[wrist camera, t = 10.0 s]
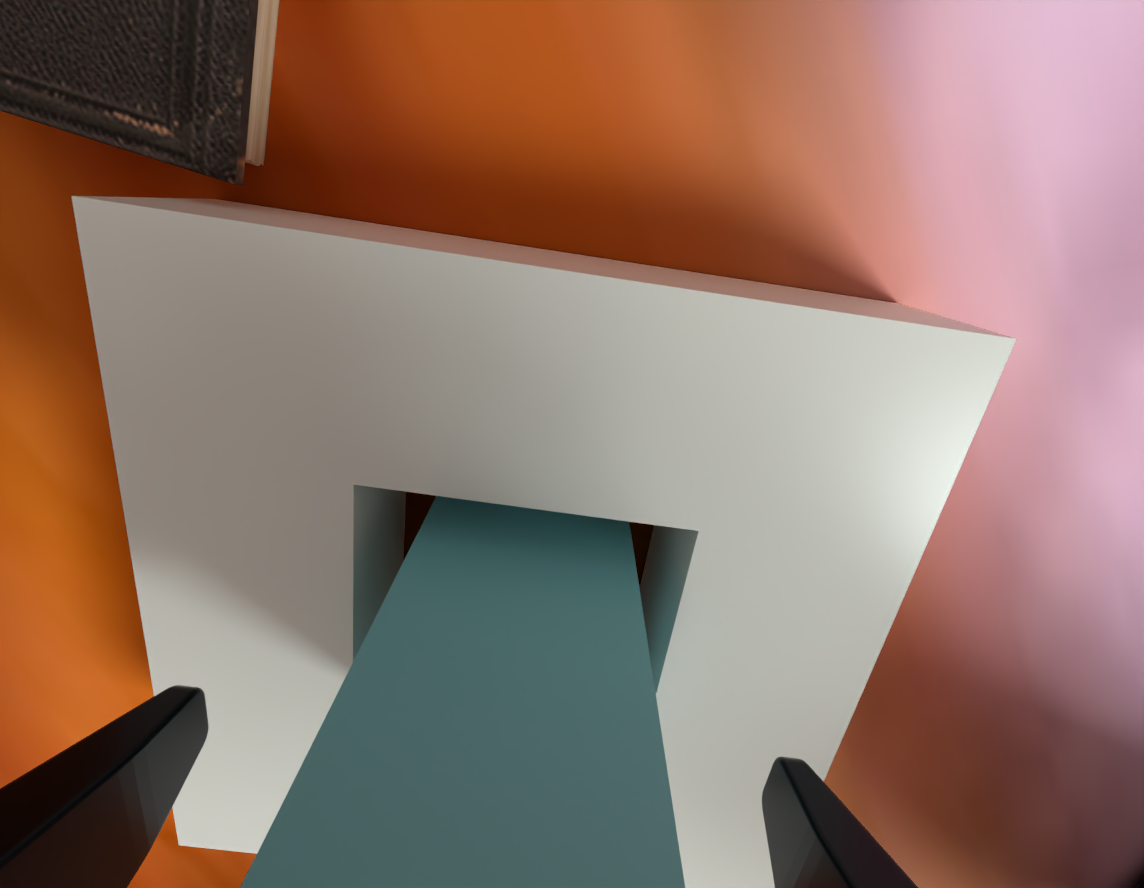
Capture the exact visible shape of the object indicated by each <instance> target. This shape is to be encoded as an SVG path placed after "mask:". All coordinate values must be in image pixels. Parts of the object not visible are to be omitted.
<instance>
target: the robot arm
mask: <svg viewBox="0 0 1144 888" xmlns="http://www.w3.org/2000/svg"><path fill="white" fill-rule="evenodd" d="M208 728H209V724H208V716H207V708H206V700H205V694H204V691H203V690H202V689H201V688H199V687H191V686H183V685H175V686H172V687H169V688H167V689H166V690H164V691H162V692H161V693H159V694H157V695H156V696H154V697H152V698H151V699H149V700H147V701H146V702H144V703H142V704H141V705H139V706H137V707H136V708H134V709H132V710H131V711H129V712H127V713H126V714H124V715H122V716H121V717H119V718H117V719H116V720H114V721H112V722H111V723H109V724H107V725H106V726H104V727H102V728H101V729H99V730H97V731H96V732H94V733H92V734H91V735H89V736H87V737H86V738H84V739H82V740H81V741H79V742H77V743H76V744H74V745H72V746H71V747H69V748H67V749H66V750H64V751H62V752H61V753H59V754H57V755H56V756H54V757H52V758H51V759H49V760H47V761H46V762H44V763H42V764H41V765H39V766H37V767H36V768H34V769H32V770H31V771H29V772H27V773H26V774H24V775H22V776H21V777H19V778H17V779H16V780H14V781H12V782H11V783H9V784H7V785H6V786H4V787H2V788H1V789H0V888H127V887H128V885H129V883H130V882H131V880H132V879H133V877H134V875H135V874H136V872H137V871H138V869H139V867H140V866H141V864H142V862H143V861H144V859H145V857H146V856H147V854H148V852H149V851H150V849H151V847H152V845H153V843H154V841H155V840H156V838H157V836H158V834H159V832H160V830H161V828H162V826H163V824H164V822H165V820H166V818H167V816H168V814H169V812H170V810H171V808H172V806H173V804H174V803H175V801H176V799H177V797H178V795H179V793H180V791H181V789H182V787H183V785H184V783H185V781H186V779H187V777H188V775H189V773H190V771H191V769H192V767H193V765H194V763H195V761H196V759H197V757H198V755H199V753H200V751H201V749H202V747H203V745H204V743H205V741H206V738H207V734H208ZM762 810H763V816H764V823H765V829H766V835H767V841H768V848H769V854H770V860H771V866H772V873H773V879H774V885H775V888H918V887H917V886H916V885H915V884H914V882H913V881H912V880H911V879H910V878H909V877H908V876H907V875H906V873H905V872H904V871H903V870H902V869H901V868H900V867H899V866H898V864H897V863H896V862H895V861H894V860H893V859H892V858H891V857H890V856H889V854H888V853H887V852H886V851H885V850H884V849H883V848H882V847H881V845H880V844H879V843H878V842H877V841H876V840H875V839H874V838H873V836H872V835H871V834H870V833H869V832H868V831H867V830H866V829H865V828H864V826H863V825H862V824H861V823H860V822H859V821H858V820H857V819H856V817H855V816H854V815H853V814H852V813H851V812H850V811H849V810H848V809H847V807H846V806H845V805H844V804H843V803H842V802H841V801H840V800H839V798H838V797H837V796H836V795H835V794H834V793H833V792H832V791H831V789H830V788H829V787H828V786H827V785H826V784H825V783H824V782H823V781H822V779H821V778H820V777H819V776H818V775H817V774H816V773H815V772H814V770H813V769H812V768H811V767H810V766H809V765H808V764H807V763H806V762H805V761H803V760H802V759H798V758H790V757H782V756H781V757H778V758H776V759H775V761H774V763H773V765H772V768H771V770H770V773H769V776H768V778H767V781H766V784H765V786H764V789H763V792H762ZM1137 888H1144V879H1143V880H1142V881H1141V883H1140V884H1139V885H1138V886H1137Z"/></svg>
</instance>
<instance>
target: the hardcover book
mask: <svg viewBox="0 0 1144 888" xmlns="http://www.w3.org/2000/svg"><path fill="white" fill-rule="evenodd" d="M278 9H279V0H0V111H3V112H7V113H10V114H13V115H16V116H19V117H22V118H26V119H29V120H32V121H35V122H38V123H41V124H45V125H48V126H51V127H54V128H57V129H60V130H64V131H67V132H70V133H73V134H76V135H80V136H83V137H86V138H89V139H92V140H95V141H99V142H102V143H105V144H108V145H111V146H114V147H118V148H121V149H124V150H127V151H130V152H134V153H137V154H140V155H143V156H146V157H149V158H153V159H156V160H159V161H162V162H165V163H168V164H172V165H175V166H178V167H181V168H184V169H188V170H191V171H194V172H197V173H200V174H203V175H207V176H210V177H213V178H216V179H219V180H222V181H226V182H229V183H232V184H235V185H243V183H244V171H245V163H249V164H252V165H255V166H260V165H261V166H264V157H265V147H266V136H267V126H268V115H269V104H270V94H271V83H272V73H273V62H274V51H275V41H276V30H277V19H278Z"/></svg>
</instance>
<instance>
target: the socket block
mask: <svg viewBox="0 0 1144 888" xmlns="http://www.w3.org/2000/svg"><path fill="white" fill-rule="evenodd" d="M71 197H72V203H73V209H74V215H75V221H76V227H77V233H78V239H79V245H80V251H81V257H82V263H83V269H84V275H85V282H86V288H87V294H88V300H89V306H90V312H91V318H92V324H93V330H94V336H95V342H96V348H97V354H98V360H99V366H100V372H101V378H102V384H103V390H104V396H105V402H106V408H107V414H108V420H109V426H110V433H111V439H112V445H113V451H114V457H115V463H116V469H117V475H118V481H119V487H120V493H121V499H122V505H123V511H124V517H125V523H126V529H127V535H128V541H129V547H130V553H131V559H132V565H133V571H134V577H135V584H136V590H137V596H138V602H139V608H140V614H141V620H142V626H143V632H144V638H145V644H146V650H147V656H148V662H149V668H150V674H151V680H152V686H153V692H154V696H156V695H157V694H159V693H161V692H162V691H164V690H166V689H167V688H169V687H172V686H175V685H183V686H191V687H199V688H201V689H202V690H203V691H204V694H205V700H206V708H207V716H208V724H209V728H208V734H207V738H206V741H205V743H204V745H203V747H202V749H201V751H200V753H199V755H198V757H197V759H196V761H195V763H194V765H193V767H192V769H191V771H190V773H189V775H188V777H187V779H186V781H185V783H184V785H183V787H182V789H181V791H180V793H179V795H178V797H177V799H176V801H175V803H174V804H173V806H172V807H173V813H174V819H175V825H176V831H177V837H178V843H179V845H181V846H191V847H200V848H209V849H218V850H228V851H237V852H246V853H255V854H257V853H258V851H259V849H260V847H261V845H262V843H263V841H264V839H265V837H266V835H267V833H268V831H269V829H270V827H271V825H272V823H273V821H274V819H275V817H276V815H277V813H278V811H279V809H280V807H281V805H282V803H283V801H284V799H285V797H286V795H287V793H288V791H289V789H290V787H291V785H292V783H293V781H294V779H295V777H296V775H297V773H298V771H299V769H300V767H301V765H302V763H303V761H304V759H305V757H306V755H307V753H308V751H309V749H310V747H311V745H312V743H313V741H314V739H315V737H316V735H317V733H318V731H319V729H320V727H321V725H322V723H323V721H324V719H325V717H326V715H327V713H328V711H329V709H330V707H331V705H332V703H333V701H334V699H335V697H336V695H337V693H338V691H339V689H340V687H341V685H342V683H343V681H344V679H345V677H346V675H347V673H348V671H349V669H350V667H351V665H352V663H353V661H354V659H355V657H356V655H357V653H358V651H359V649H360V647H361V645H362V643H363V641H364V639H365V637H366V635H367V633H368V631H369V629H370V627H371V625H372V623H373V621H374V619H375V617H376V615H377V613H378V611H379V609H380V607H381V605H382V603H383V601H384V599H385V597H386V595H387V593H388V591H389V589H390V587H391V585H392V583H393V581H394V579H395V577H396V575H397V573H398V571H399V569H400V567H401V565H402V563H403V558H404V534H405V510H406V492H413V493H420V494H428V495H435V496H442V497H450V498H457V499H465V500H472V501H480V502H487V503H494V504H502V505H509V506H517V507H524V508H532V509H539V510H546V511H554V512H561V513H569V514H576V515H584V516H591V517H599V518H606V519H613V520H621V521H628V522H636V523H643V524H651V525H654V527H653V532H652V536H651V540H650V545H649V549H648V554H647V558H646V562H645V567H644V571H643V576H642V580H641V585H640V595H641V601H642V608H643V614H644V621H645V628H646V634H647V641H648V647H649V654H650V660H651V667H652V673H653V680H654V687H655V693H656V700H657V706H658V713H659V719H660V726H661V732H662V739H663V745H664V752H665V759H666V765H667V772H668V778H669V785H670V791H671V798H672V804H673V811H674V817H675V824H676V831H677V837H678V844H679V850H680V857H681V863H682V870H683V876H684V883H685V888H775V885H774V879H773V873H772V866H771V860H770V854H769V848H768V841H767V835H766V829H765V823H764V816H763V810H762V792H763V789H764V786H765V784H766V781H767V778H768V776H769V773H770V770H771V768H772V765H773V763H774V761H775V759H776V758H778V757H781V756H782V757H790V758H798V759H802V760H803V761H805V762H806V763H807V764H808V765H809V766H810V767H811V768H812V769H813V770H814V772H815V773H816V774H817V775H818V776H819V777H820V778H821V779H822V781H823V782H824V780H825V777H826V775H827V773H828V771H829V768H830V766H831V764H832V761H833V759H834V757H835V754H836V752H837V750H838V748H839V745H840V743H841V741H842V738H843V736H844V734H845V731H846V729H847V727H848V725H849V722H850V720H851V718H852V715H853V713H854V711H855V708H856V706H857V704H858V702H859V699H860V697H861V695H862V692H863V690H864V688H865V686H866V683H867V681H868V679H869V676H870V674H871V672H872V669H873V667H874V665H875V663H876V660H877V658H878V656H879V653H880V651H881V649H882V646H883V644H884V642H885V640H886V637H887V635H888V633H889V630H890V628H891V626H892V623H893V621H894V619H895V617H896V614H897V612H898V610H899V607H900V605H901V603H902V601H903V598H904V596H905V594H906V591H907V589H908V587H909V584H910V582H911V580H912V578H913V575H914V573H915V571H916V568H917V566H918V564H919V561H920V559H921V557H922V555H923V552H924V550H925V548H926V545H927V543H928V541H929V538H930V536H931V534H932V532H933V529H934V527H935V525H936V522H937V520H938V518H939V515H940V513H941V511H942V509H943V506H944V504H945V502H946V499H947V497H948V495H949V493H950V490H951V488H952V486H953V483H954V481H955V479H956V476H957V474H958V472H959V470H960V467H961V465H962V463H963V460H964V458H965V456H966V453H967V451H968V449H969V447H970V444H971V442H972V440H973V437H974V435H975V433H976V430H977V428H978V426H979V424H980V421H981V419H982V417H983V414H984V412H985V410H986V408H987V405H988V403H989V401H990V398H991V396H992V394H993V391H994V389H995V387H996V385H997V382H998V380H999V378H1000V375H1001V373H1002V371H1003V368H1004V366H1005V364H1006V362H1007V359H1008V357H1009V355H1010V352H1011V350H1012V348H1013V345H1014V343H1015V341H1016V339H1015V338H1011V337H1008V336H1005V335H1002V334H998V333H995V332H992V331H988V330H985V329H982V328H979V327H975V326H972V325H969V324H965V323H962V322H959V321H956V320H952V319H949V318H946V317H942V316H939V315H936V314H932V313H929V312H926V311H923V310H919V309H916V308H913V307H909V306H906V305H903V304H899V303H893V302H886V301H880V300H873V299H867V298H860V297H854V296H847V295H840V294H834V293H827V292H821V291H814V290H808V289H801V288H795V287H788V286H782V285H775V284H768V283H762V282H755V281H749V280H742V279H736V278H729V277H723V276H716V275H710V274H703V273H697V272H690V271H683V270H677V269H670V268H664V267H657V266H651V265H644V264H638V263H631V262H625V261H618V260H611V259H605V258H598V257H592V256H585V255H579V254H572V253H566V252H559V251H553V250H546V249H539V248H533V247H526V246H520V245H513V244H507V243H500V242H494V241H487V240H481V239H474V238H467V237H461V236H454V235H448V234H441V233H435V232H428V231H422V230H415V229H409V228H402V227H395V226H389V225H382V224H376V223H369V222H363V221H356V220H350V219H343V218H337V217H330V216H323V215H317V214H310V213H304V212H297V211H291V210H284V209H278V208H271V207H265V206H258V205H251V204H245V203H238V202H232V201H225V200H219V199H197V198H151V197H104V196H71Z"/></svg>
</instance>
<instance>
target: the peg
mask: <svg viewBox="0 0 1144 888" xmlns="http://www.w3.org/2000/svg"><path fill="white" fill-rule="evenodd" d="M240 888H685V883H684V876H683V870H682V863H681V857H680V850H679V844H678V837H677V831H676V824H675V817H674V811H673V804H672V798H671V791H670V785H669V778H668V772H667V765H666V759H665V752H664V745H663V739H662V732H661V726H660V719H659V713H658V706H657V700H656V693H655V687H654V680H653V673H652V667H651V660H650V654H649V647H648V641H647V634H646V628H645V621H644V614H643V608H642V601H641V595H640V588H639V582H638V575H637V569H636V562H635V556H634V549H633V542H632V536H631V529H630V523H629V522H628V521H621V520H613V519H606V518H599V517H591V516H584V515H576V514H569V513H561V512H554V511H546V510H539V509H532V508H524V507H517V506H509V505H502V504H494V503H487V502H480V501H472V500H465V499H457V498H450V497H442V496H436V498H435V500H434V502H433V504H432V506H431V508H430V510H429V512H428V514H427V516H426V518H425V520H424V522H423V524H422V526H421V528H420V530H419V532H418V534H417V536H416V538H415V540H414V541H413V543H412V545H411V547H410V549H409V551H408V553H407V555H406V557H405V559H404V561H403V563H402V565H401V567H400V569H399V571H398V573H397V575H396V577H395V579H394V581H393V583H392V585H391V587H390V589H389V591H388V593H387V595H386V597H385V599H384V601H383V603H382V605H381V607H380V609H379V611H378V613H377V615H376V617H375V619H374V621H373V623H372V625H371V627H370V629H369V631H368V633H367V635H366V637H365V639H364V641H363V643H362V645H361V647H360V649H359V651H358V653H357V655H356V657H355V659H354V661H353V663H352V665H351V667H350V669H349V671H348V673H347V675H346V677H345V679H344V681H343V683H342V685H341V687H340V689H339V691H338V693H337V695H336V697H335V699H334V701H333V703H332V705H331V707H330V709H329V711H328V713H327V715H326V717H325V719H324V721H323V723H322V725H321V727H320V729H319V731H318V733H317V735H316V737H315V739H314V741H313V743H312V745H311V747H310V749H309V751H308V753H307V755H306V757H305V759H304V761H303V763H302V765H301V767H300V769H299V771H298V773H297V775H296V777H295V779H294V781H293V783H292V785H291V787H290V789H289V791H288V793H287V795H286V797H285V799H284V801H283V803H282V805H281V807H280V809H279V811H278V813H277V815H276V817H275V819H274V821H273V823H272V825H271V827H270V829H269V831H268V833H267V835H266V837H265V839H264V841H263V843H262V845H261V847H260V849H259V851H258V853H257V855H256V857H255V859H254V861H253V863H252V865H251V867H250V869H249V871H248V873H247V875H246V877H245V879H244V881H243V883H242V885H241V887H240Z"/></svg>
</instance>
